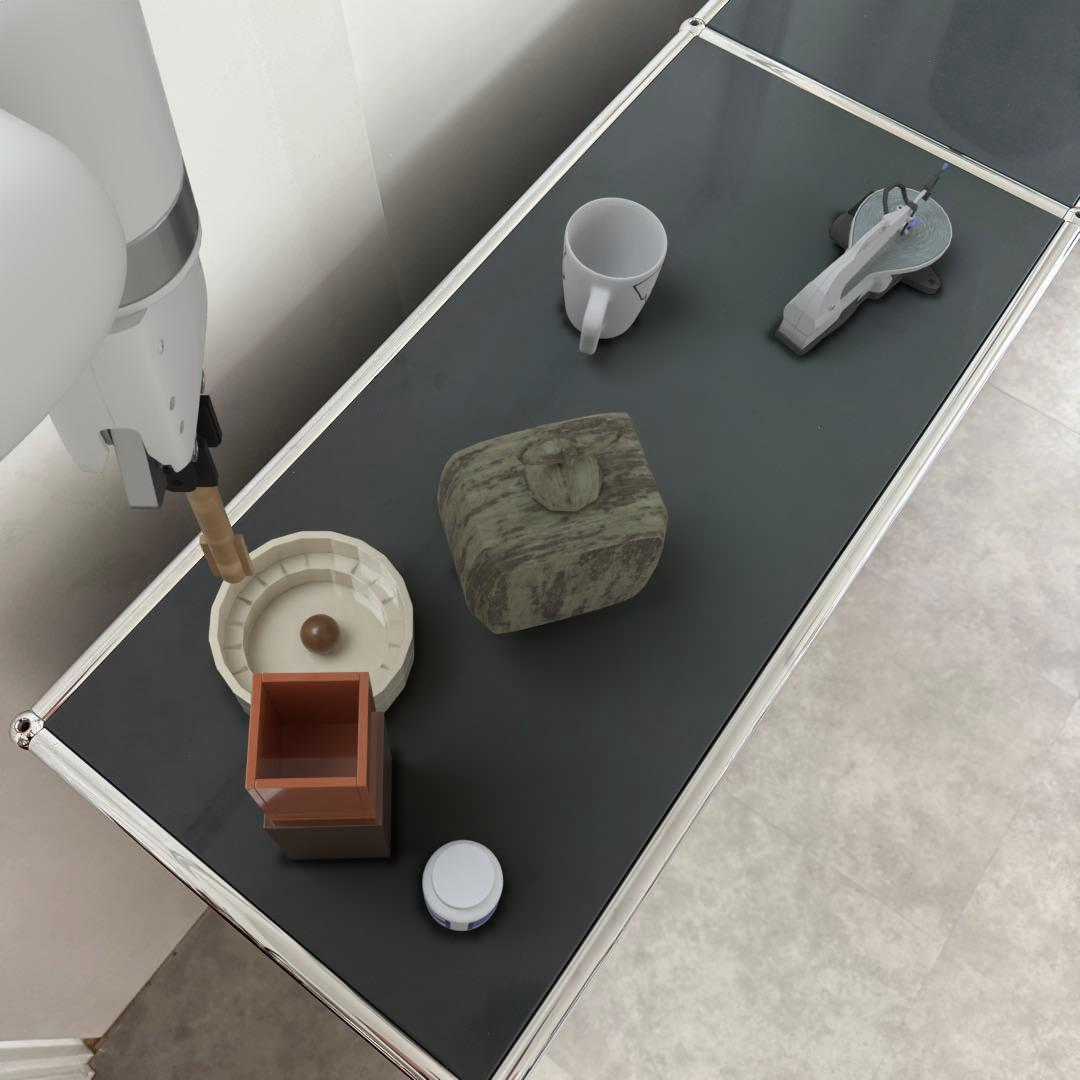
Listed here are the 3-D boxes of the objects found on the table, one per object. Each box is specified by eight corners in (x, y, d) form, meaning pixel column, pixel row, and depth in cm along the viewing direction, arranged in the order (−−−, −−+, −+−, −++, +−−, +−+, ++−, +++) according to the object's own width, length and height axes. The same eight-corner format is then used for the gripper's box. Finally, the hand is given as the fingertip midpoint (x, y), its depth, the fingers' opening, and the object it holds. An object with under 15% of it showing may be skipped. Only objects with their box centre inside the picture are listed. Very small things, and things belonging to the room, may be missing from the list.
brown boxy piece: (289, 860, 77) (236, 796, 57) (294, 760, 80) (245, 666, 59) (390, 857, 78) (373, 793, 57) (391, 758, 81) (376, 664, 60)
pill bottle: (499, 853, 79) (506, 832, 70) (498, 931, 76) (505, 919, 68) (424, 852, 78) (423, 831, 70) (421, 931, 76) (419, 918, 68)
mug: (627, 389, 95) (647, 321, 86) (533, 363, 96) (543, 293, 87) (655, 286, 100) (677, 212, 91) (566, 262, 100) (579, 185, 91)
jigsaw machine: (878, 317, 88) (769, 230, 90) (834, 388, 97) (737, 308, 100) (1016, 188, 95) (911, 111, 97) (962, 266, 104) (868, 194, 107)
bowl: (217, 743, 80) (201, 721, 75) (231, 563, 86) (217, 531, 80) (413, 739, 81) (412, 718, 76) (414, 562, 87) (413, 530, 82)
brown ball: (305, 623, 84) (295, 657, 82) (304, 603, 81) (295, 638, 80) (344, 630, 84) (335, 664, 82) (345, 610, 82) (336, 646, 80)
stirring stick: (253, 583, 68) (191, 417, 50) (213, 584, 68) (137, 417, 50) (254, 559, 69) (193, 387, 51) (214, 560, 69) (140, 387, 51)
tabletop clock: (608, 514, 90) (665, 340, 68) (644, 614, 87) (718, 466, 64) (436, 557, 87) (436, 390, 65) (468, 662, 84) (479, 525, 61)
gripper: (9, 44, 42) (129, 330, 58) (-69, 400, 35) (91, 607, 52) (212, 53, 42) (273, 333, 59) (173, 402, 36) (254, 606, 53)
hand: (188, 460), depth 55 cm, fingers closed on stirring stick, 1 cm apart
